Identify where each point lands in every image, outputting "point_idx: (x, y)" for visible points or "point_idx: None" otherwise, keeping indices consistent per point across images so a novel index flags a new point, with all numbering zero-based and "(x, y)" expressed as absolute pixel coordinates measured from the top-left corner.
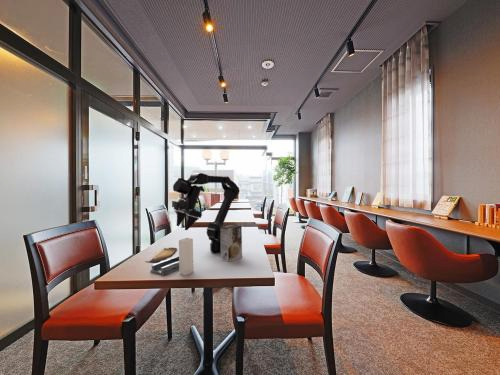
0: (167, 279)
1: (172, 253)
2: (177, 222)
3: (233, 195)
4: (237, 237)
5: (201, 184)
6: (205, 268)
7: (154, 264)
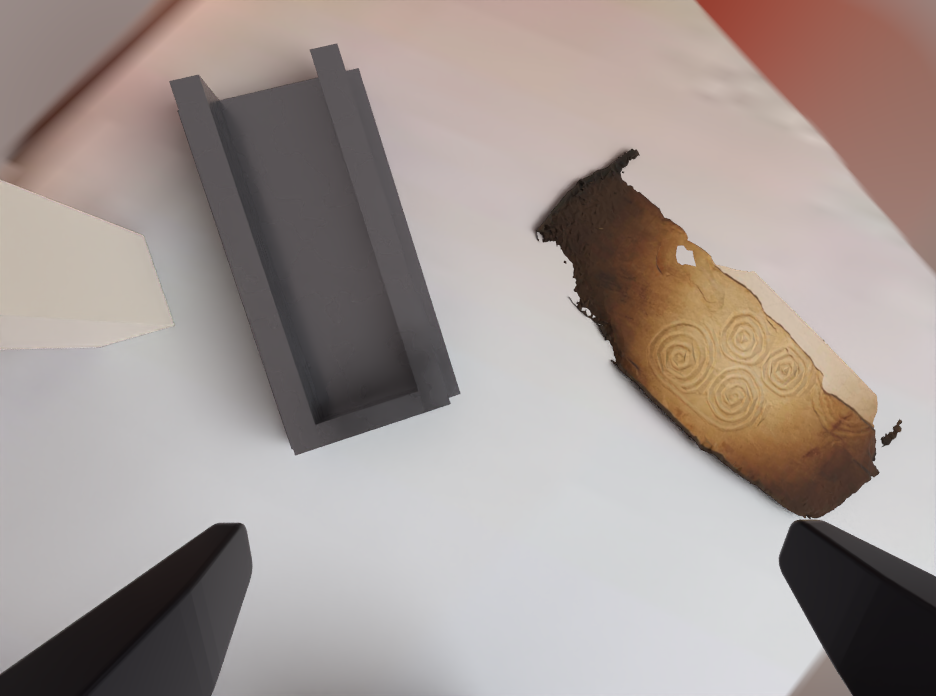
0: (88, 105)
1: (676, 413)
2: (901, 594)
3: None
4: None
5: None
6: (94, 469)
7: (335, 70)
